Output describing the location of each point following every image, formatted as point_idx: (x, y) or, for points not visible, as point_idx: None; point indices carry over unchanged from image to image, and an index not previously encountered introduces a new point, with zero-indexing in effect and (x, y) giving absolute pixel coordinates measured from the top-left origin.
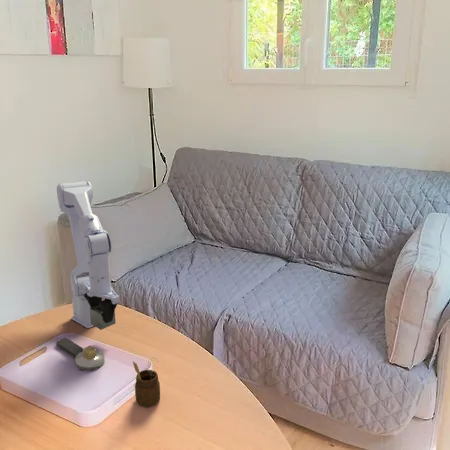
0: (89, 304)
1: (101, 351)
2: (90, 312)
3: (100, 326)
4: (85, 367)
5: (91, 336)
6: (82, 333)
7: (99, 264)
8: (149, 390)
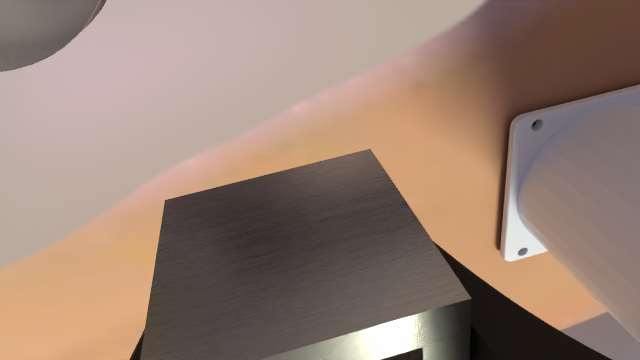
0: (558, 340)
1: (11, 68)
2: (419, 253)
3: (168, 224)
4: None
5: (403, 99)
6: (488, 59)
7: None
8: None
